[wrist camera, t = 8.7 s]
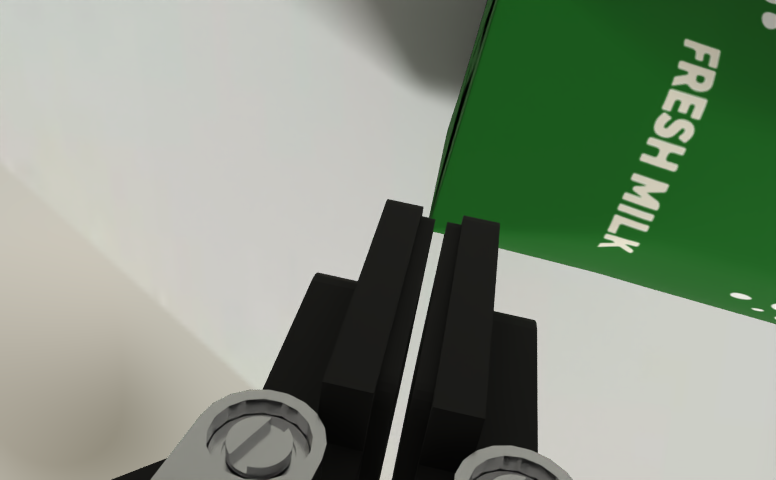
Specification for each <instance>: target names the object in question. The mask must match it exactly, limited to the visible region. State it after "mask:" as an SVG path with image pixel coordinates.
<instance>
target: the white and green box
mask: <svg viewBox="0 0 776 480" xmlns="http://www.w3.org/2000/svg"><path fill="white" fill-rule="evenodd" d="M464 215H465V216H469V217H474V218H479V219H484V220H488V221H493V222H498V223H500V233H499V246H498V248H501V249H505V250H509V251H513V252H517V253H521V254H525V255H529V256H533V257H537V258H541V259H545V260H549V261H553V262H557V263H560V264H564V265H568V266H572V267H576V268H580V269H584V270H588V271H592V272H596V273H599V274H603V275H607V276H610V277H613V278H617V279H620V280H623V281H627V282H630V283H634V284H637V285H640V286H644V287H647V288H651V289H654V290H658V291H661V292H665V293H668V294H672V295H675V296H679V297H682V298H686V299H690V300H693V301H697V302H700V303H704V304H707V305H711V306H714V307H718V308H721V309H725V310H728V311H732V312H735V313H739V314H742V315H746V316H749V317H753V318H756V319H760V320H763V321H767V322H770V323H774V324H776V0H487V4H486V7H485V10H484V14H483V17H482V20H481V24H480V27H479V30H478V34H477V37H476V40H475V44H474V47H473V50H472V54H471V57H470V61H469V64H468V67H467V71H466V74H465V77H464V81H463V84H462V87H461V91H460V94H459V97H458V100H457V103H456V106H455V109H454V112H453V115H452V118H451V121H450V124H449V127H448V131H447V135H446V140H445V144H444V149H443V154H442V158H441V163H440V168H439V173H438V178H437V182H436V187H435V192H434V197H433V201H432V206H431V211H430V216H429V218H432V219H436V220H435V225H434V229H433V232H437V233H441V234H445V229H446V225H447V222H451V223H455V224H460V225H461V223H462V219H463V216H464Z"/></svg>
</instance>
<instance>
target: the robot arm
mask: <svg viewBox="0 0 776 480" xmlns="http://www.w3.org/2000/svg"><path fill="white" fill-rule="evenodd" d="M422 213H423V207H422V206H417V205H413V204H408V203H403V202H399V201H394V200H389V199H387V201H386V204H385V207H384V210H383V212H382V215H381V218H380V221H379V224H378V226H377V229H376V232H375V235H374V238H373V240H372V243H371V246H370V249H369V252H368V254H367V257H366V260H365V263H364V266H363V268H362V271H361V274H360V277H359V280H358V281H354V280H349V279H345V278H340V277H336V276H331V275H326V274H322V273H316V274H315V276H314V277H313V279H312V281H311V283H310V286H309V288H308V290H307V292H306V294H305V297H304V299H303V301H302V303H301V306H300V308H299V310H298V312H297V314H296V317H295V319H294V321H293V323H292V326H291V328H290V330H289V332H288V334H287V337H286V339H285V341H284V343H283V345H282V348H281V350H280V352H279V354H278V357H277V359H276V361H275V363H274V365H273V368H272V370H271V372H270V374H269V377H268V379H267V381H266V383H265V385H264V388H263V390H246V391H242V392H238V393H233V394H230V395H228V396H226V397H224V398H222V399H220V400H218V401H216V402H214V403H213V404H212V405H211V406H210V407H208V409H206V410H205V411H204V412H203V413H202V414H201V415H200V416H199V418H198V419H197V420H196V421H195V423H194V424H193V425H192V427H191V428H190V429H189V430H188V432H187V433H186V434H185V436H184V437H183V439H182V440H181V441H180V442H179V444H178V445H177V446H176V447H175V449H174V450H173V451H172V453H171V454H170V455H169V457H168V458H166V459H164V460H161V461H159V462H156V463H153V464H151V465H148V466H146V467H143V468H141V469H138V470H135V471H133V472H130V473H128V474H125V475H123V476H120V477H117V478H115V479H112V480H379V479H380V475H381V470H382V466H383V461H384V457H385V452H386V448H387V443H388V439H389V434H390V430H391V425H392V421H393V416H394V412H395V408H396V403H397V399H398V394H399V390H400V385H401V381H402V376H403V372H404V367H405V362H406V358H407V353H408V348H409V343H410V339H411V334H412V329H413V324H414V320H415V315H416V310H417V305H418V301H419V296H420V291H421V286H422V282H423V277H424V272H425V267H426V263H427V258H428V253H429V248H430V244H431V239H432V234H433V229H434V225H435V220H436V219H432V218H427V217H423V216H422ZM499 233H500V223H498V222H493V221H488V220H484V219H479V218H474V217H469V216H465V215H464V216H463V219H462V223H461V225H460V224H455V223H451V222H447V225H446V229H445V234H444V238H443V243H442V247H441V252H440V256H439V261H438V266H437V270H436V275H435V279H434V284H433V288H432V293H431V297H430V302H429V306H428V311H427V315H426V320H425V324H424V329H423V333H422V338H421V342H420V347H419V352H418V356H417V361H416V365H415V370H414V375H413V379H412V384H411V389H410V394H409V399H408V404H407V408H406V413H405V418H404V423H403V428H402V433H401V438H400V443H399V447H398V452H397V457H396V462H395V467H394V472H393V477H392V480H573V479H572V478H571V477H570V476H569V474H568V473H567V472H566V471H565V470H563V469H562V468H561V467H559V466H558V465H557V464H556V463H554V462H553V461H552V460H551V459H549V458H547V457H545V456H542V455H540V454H538V418H537V325H536V322H535V320H532V319H527V318H522V317H518V316H513V315H509V314H504V313H500V312H495V311H494V298H495V285H496V272H497V259H498V246H499Z"/></svg>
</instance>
